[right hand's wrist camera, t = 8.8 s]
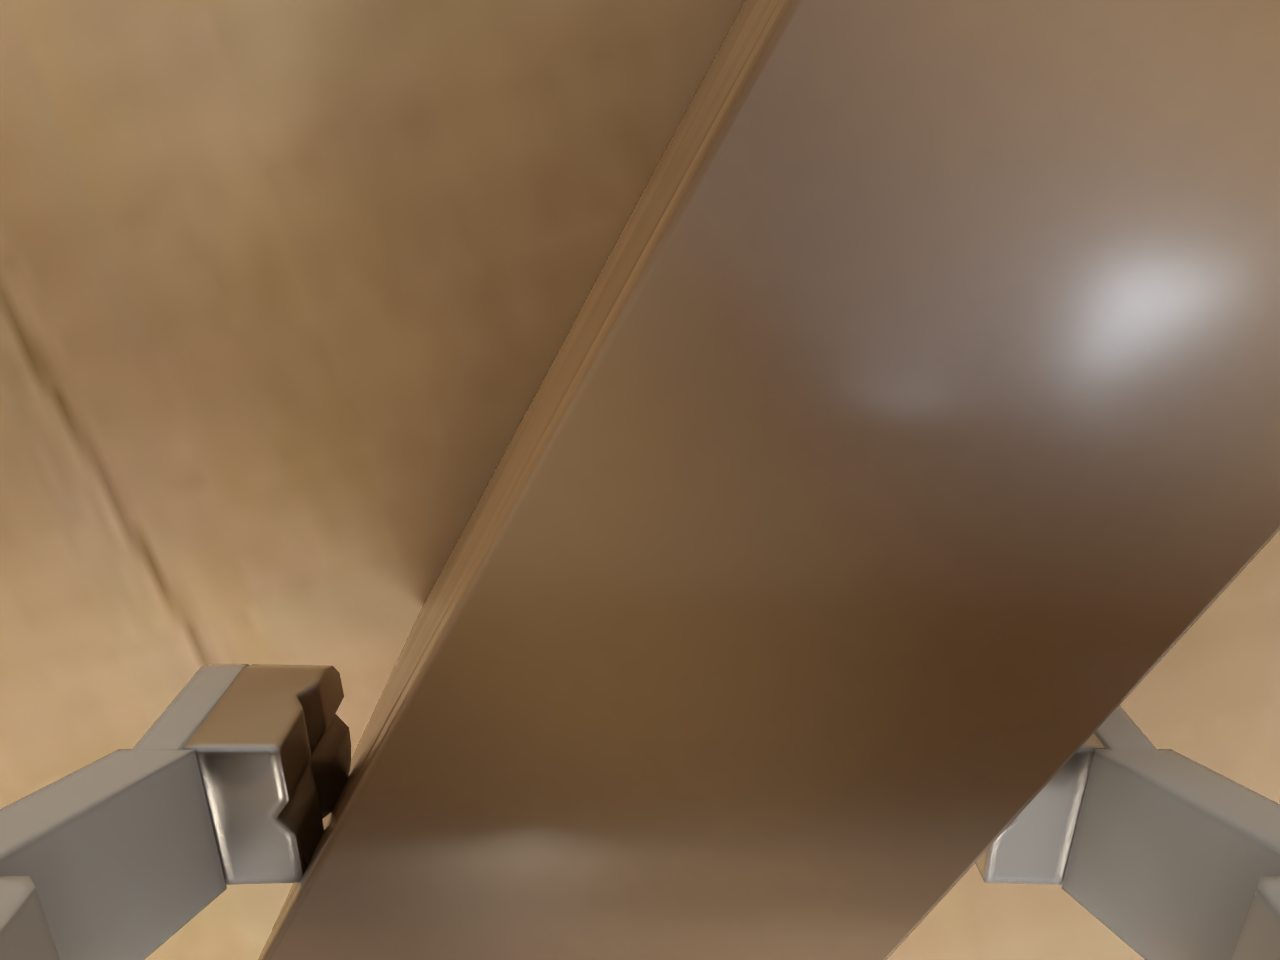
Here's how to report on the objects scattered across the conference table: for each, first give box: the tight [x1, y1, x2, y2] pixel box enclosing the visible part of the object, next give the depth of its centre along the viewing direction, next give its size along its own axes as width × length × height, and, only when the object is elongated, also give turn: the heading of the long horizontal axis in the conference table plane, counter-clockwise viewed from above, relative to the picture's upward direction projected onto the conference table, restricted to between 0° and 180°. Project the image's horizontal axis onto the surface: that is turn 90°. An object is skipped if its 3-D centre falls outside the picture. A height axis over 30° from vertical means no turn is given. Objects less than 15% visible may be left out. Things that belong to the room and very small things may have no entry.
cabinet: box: [258, 0, 1280, 960], centre depth 10 cm, size 19×6×8 cm, turn 151°
